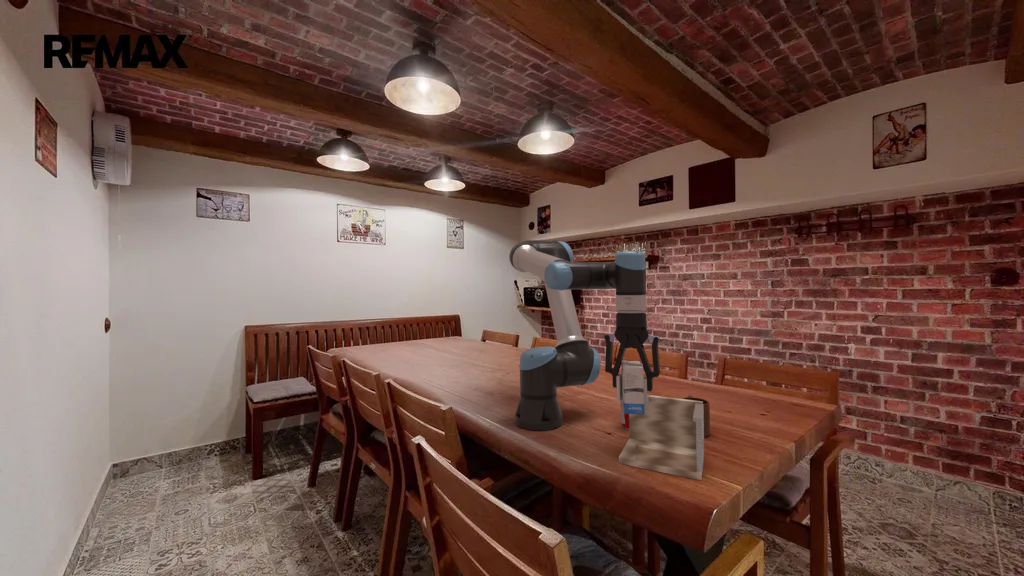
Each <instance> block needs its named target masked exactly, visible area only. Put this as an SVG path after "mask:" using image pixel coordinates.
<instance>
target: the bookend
mask: <svg viewBox="0 0 1024 576" xmlns="http://www.w3.org/2000/svg"><path fill="white" fill-rule="evenodd" d="M693 421H695V422H696V464H697V471H700V472H702V473H703V471H704V457H705V437H704V407H703V404H700V403H695V409H694V414H693Z"/></svg>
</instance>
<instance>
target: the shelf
mask: <svg viewBox="0 0 1024 576" xmlns="http://www.w3.org/2000/svg"><path fill="white" fill-rule="evenodd" d="M648 395H649V403H648V404H647V405H644V413H645V414H644V415H643V414H629V430H628V431H629V432H628V433H629V435H628V436H629V438H628V440H627V442H626V443H625V445H624V447H623V449H622V450H621V452H620V454H619V456H618V464H621V465H623V466H624V465H625V466H631V467H635V468H638V469H639V468H641V469H644V470H649V471H654V472H660V473H664V474H669V475H673V476H679V477H683V478H689V479H692V480H693V479H694V480H698V481H702V480H703V478H702V477H703V472H700V471H697V464H696V422H695V421H693V414H694V409H695V403H700V404H703V401H695V400H687V399H682V398H676V397H667V396H660V395H651V394H648Z"/></svg>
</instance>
